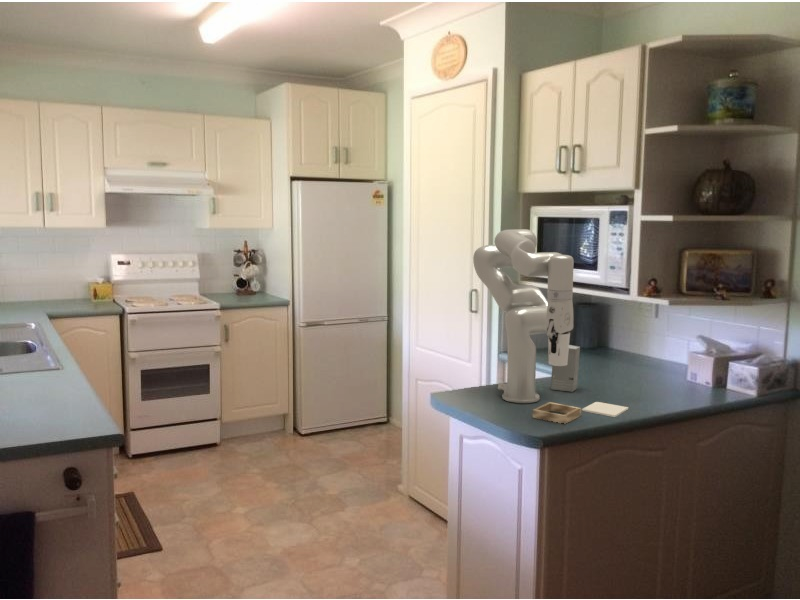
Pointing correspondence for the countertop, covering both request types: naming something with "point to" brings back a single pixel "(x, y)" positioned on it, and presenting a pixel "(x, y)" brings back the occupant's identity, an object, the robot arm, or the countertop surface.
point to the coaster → (605, 409)
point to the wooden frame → (569, 411)
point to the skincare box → (567, 372)
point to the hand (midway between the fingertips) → (557, 353)
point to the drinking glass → (559, 350)
